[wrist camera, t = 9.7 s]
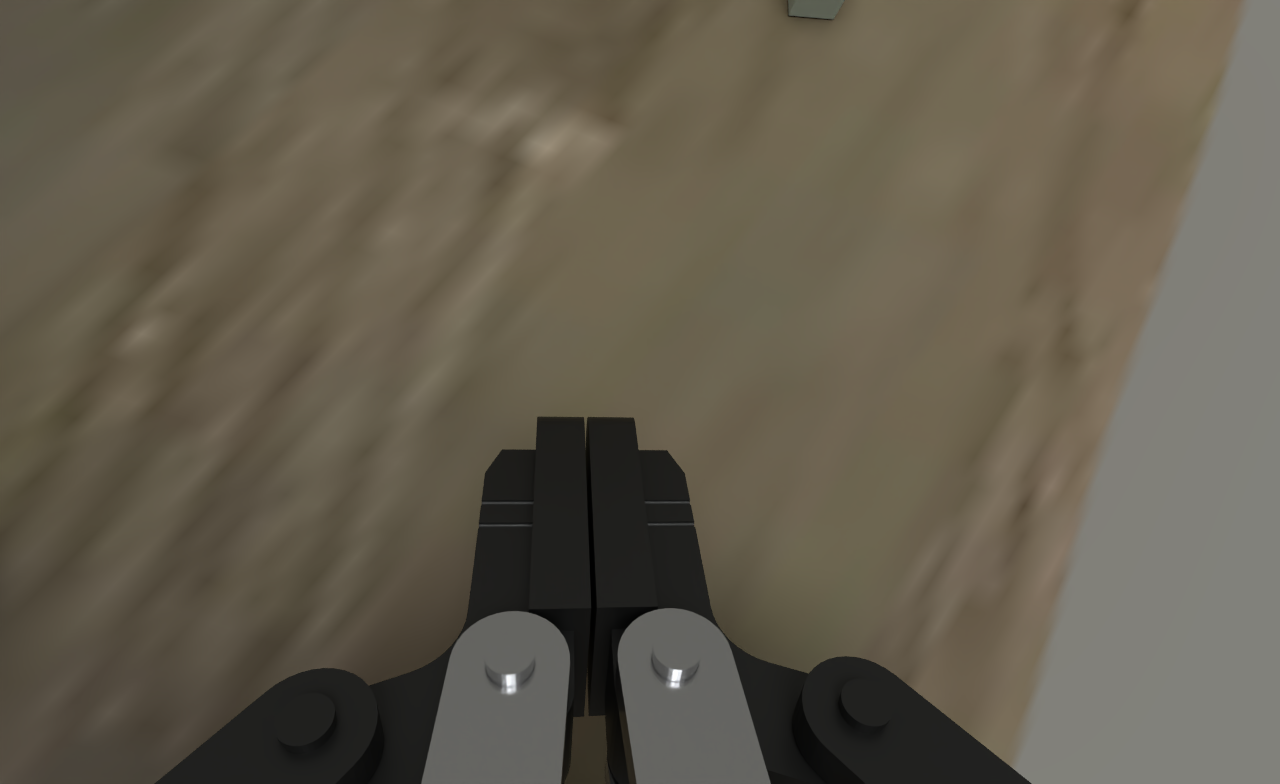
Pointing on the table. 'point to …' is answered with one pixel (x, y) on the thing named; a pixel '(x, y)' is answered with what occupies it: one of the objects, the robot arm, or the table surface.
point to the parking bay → (814, 8)
